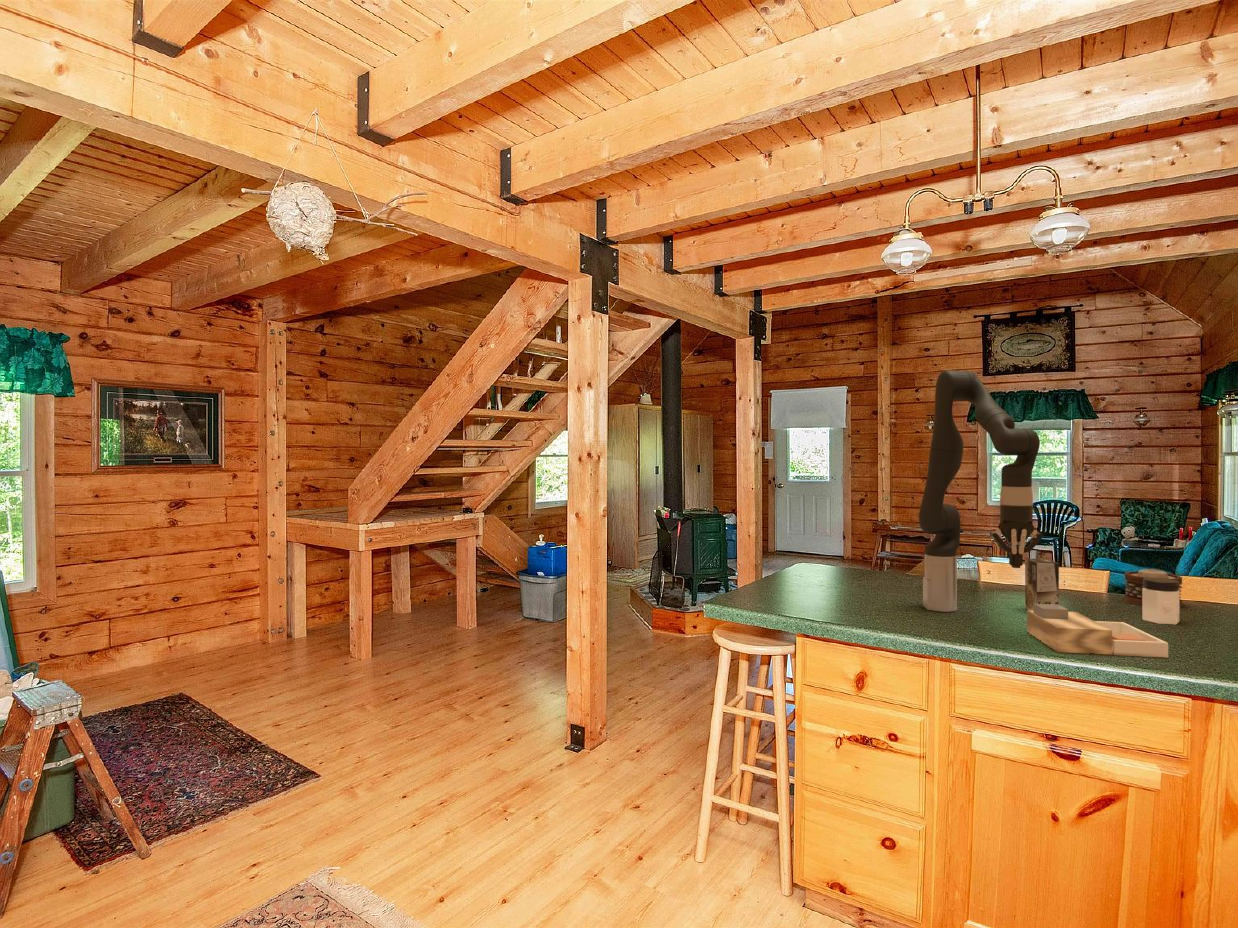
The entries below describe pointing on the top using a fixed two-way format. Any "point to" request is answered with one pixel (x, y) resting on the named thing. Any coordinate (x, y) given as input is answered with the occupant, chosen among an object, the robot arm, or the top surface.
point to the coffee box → (1041, 582)
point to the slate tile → (1051, 611)
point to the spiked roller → (1136, 584)
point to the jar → (1160, 600)
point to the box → (1136, 642)
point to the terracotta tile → (1126, 637)
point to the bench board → (1071, 633)
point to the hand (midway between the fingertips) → (1015, 567)
